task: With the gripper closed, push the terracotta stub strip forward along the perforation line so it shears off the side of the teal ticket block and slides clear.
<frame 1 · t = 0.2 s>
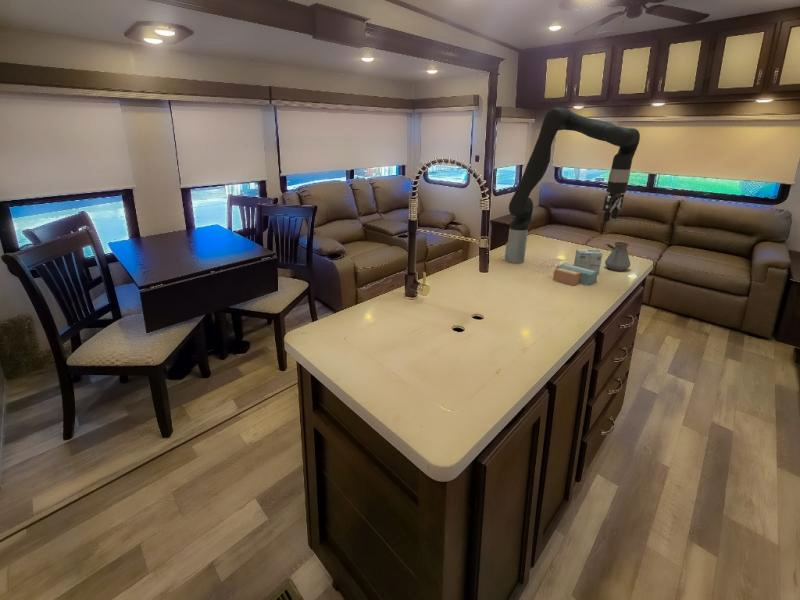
hand: (610, 219, 175), 29 cm above the table, fingers open, 8 cm apart
light bulb box: (585, 272, 201), on the table
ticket: (575, 279, 191), on the table
coffee pot: (611, 270, 204), on the table
stub: (566, 276, 186), point 3 cm above the table, slide at 0.0 cm
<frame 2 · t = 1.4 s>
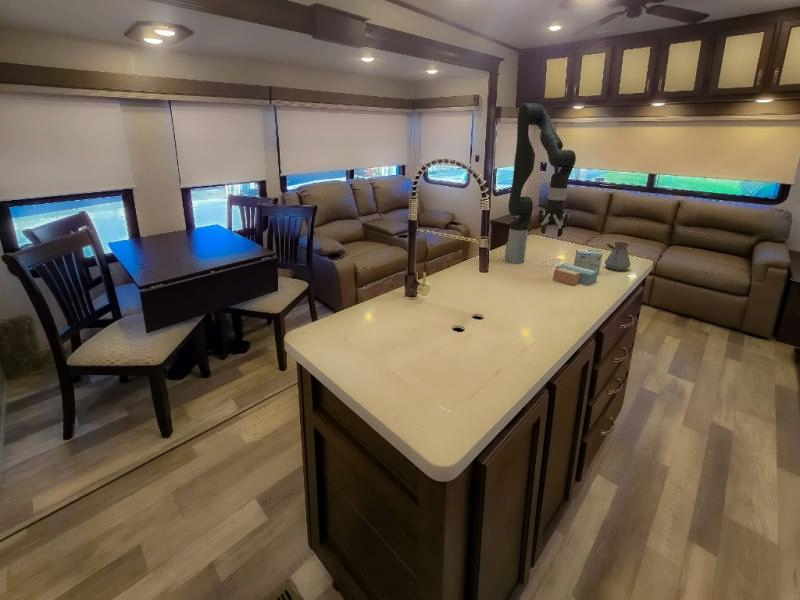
hand: (551, 234, 187), 20 cm above the table, fingers open, 7 cm apart
nothing on the table moved.
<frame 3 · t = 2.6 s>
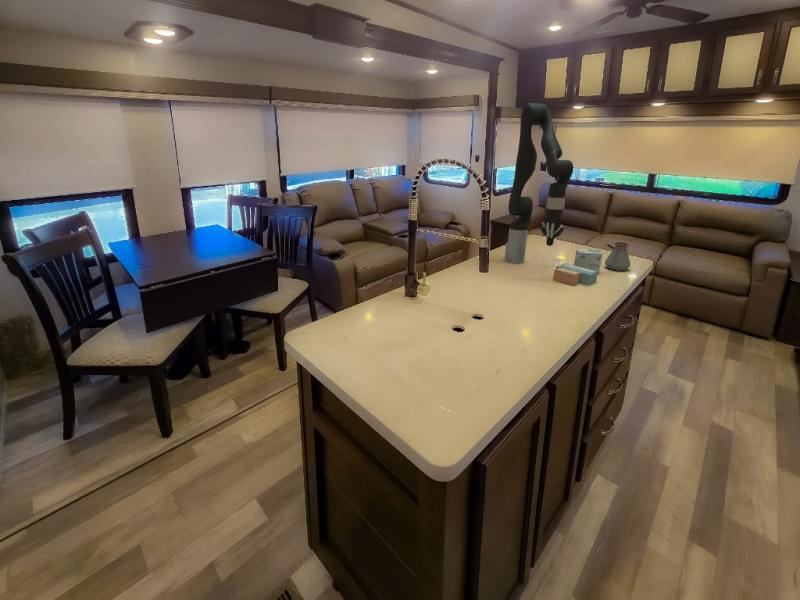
hand: (549, 245, 189), 15 cm above the table, fingers closed
nothing on the table moved.
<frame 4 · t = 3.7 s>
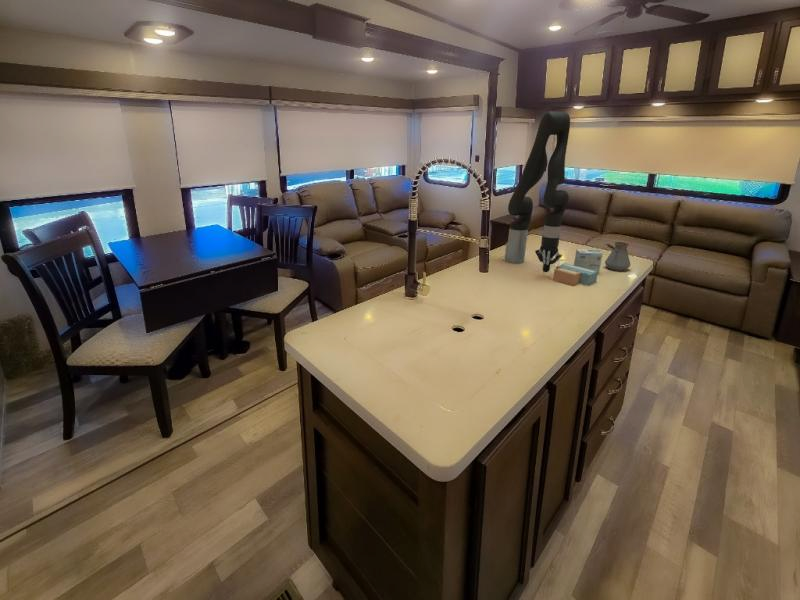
hand: (545, 271, 194), 2 cm above the table, fingers closed
nothing on the table moved.
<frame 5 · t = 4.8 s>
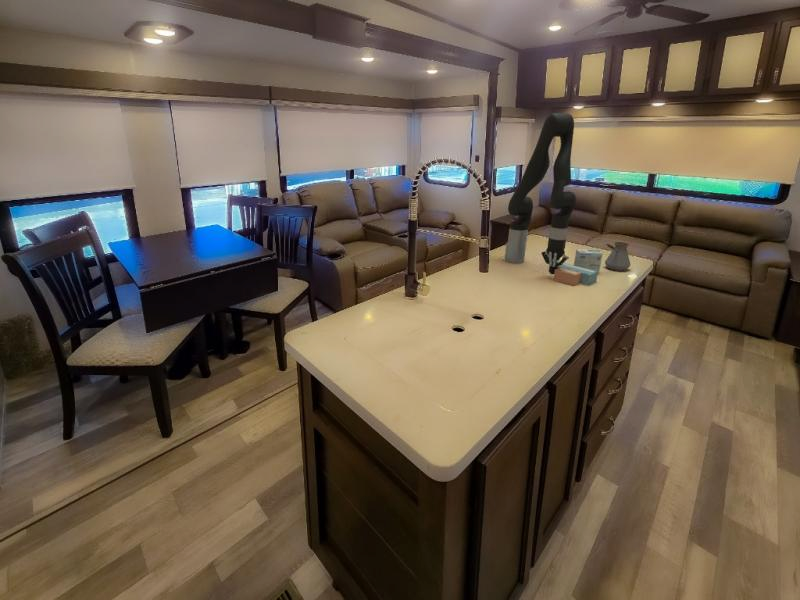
hand: (552, 273, 191), 2 cm above the table, fingers closed
stub: (567, 276, 186), point 3 cm above the table, slide at 0.3 cm, touching gripper
everything else where it was.
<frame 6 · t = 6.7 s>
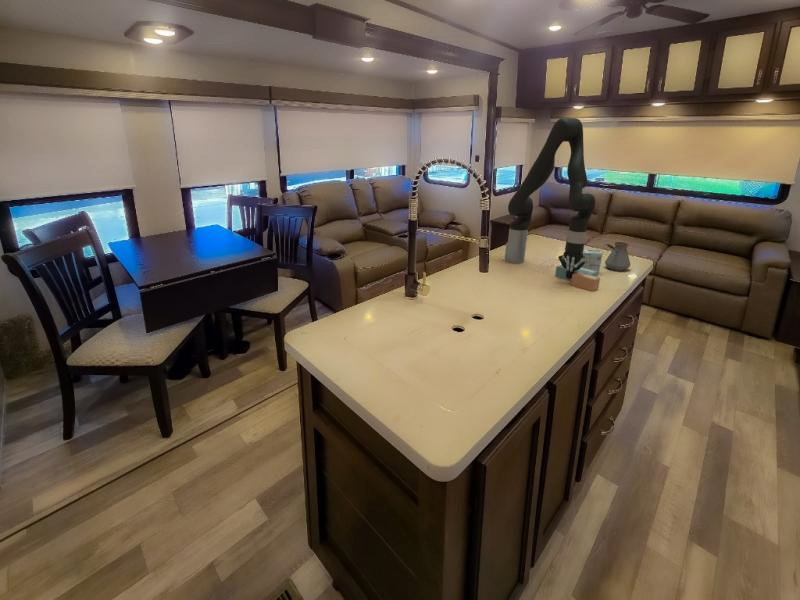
hand: (569, 278, 185), 2 cm above the table, fingers closed
stub: (585, 281, 180), point 3 cm above the table, slide at 8.8 cm, touching gripper
everything else where it was.
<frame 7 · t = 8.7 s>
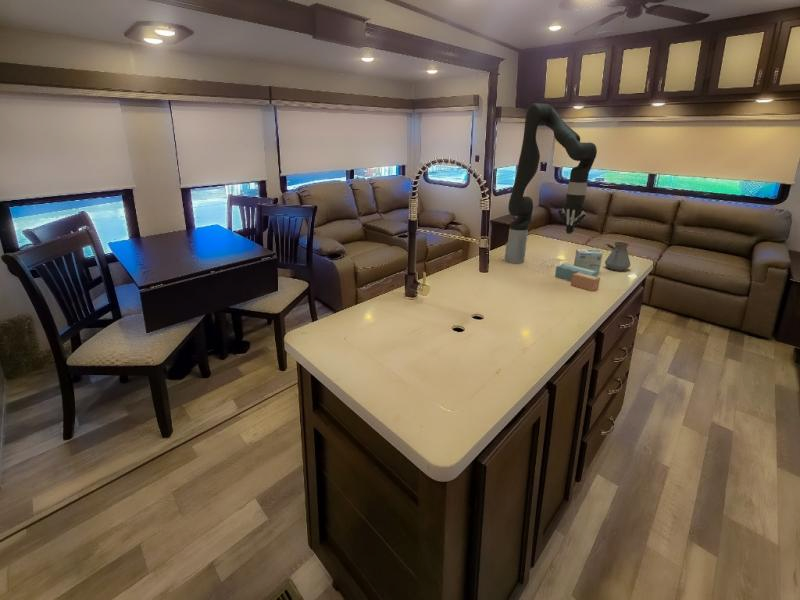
hand: (569, 233, 181), 22 cm above the table, fingers closed
stub: (585, 281, 180), point 3 cm above the table, slide at 8.8 cm
everything else where it was.
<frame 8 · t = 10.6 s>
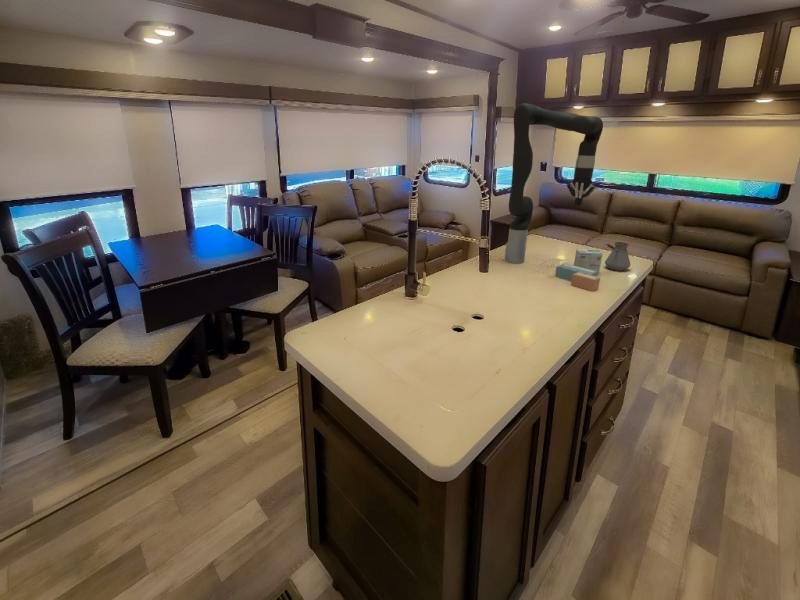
hand: (577, 206, 187), 32 cm above the table, fingers closed
nothing on the table moved.
at the end: stub slide at 8.8 cm; the gripper is holding nothing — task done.
